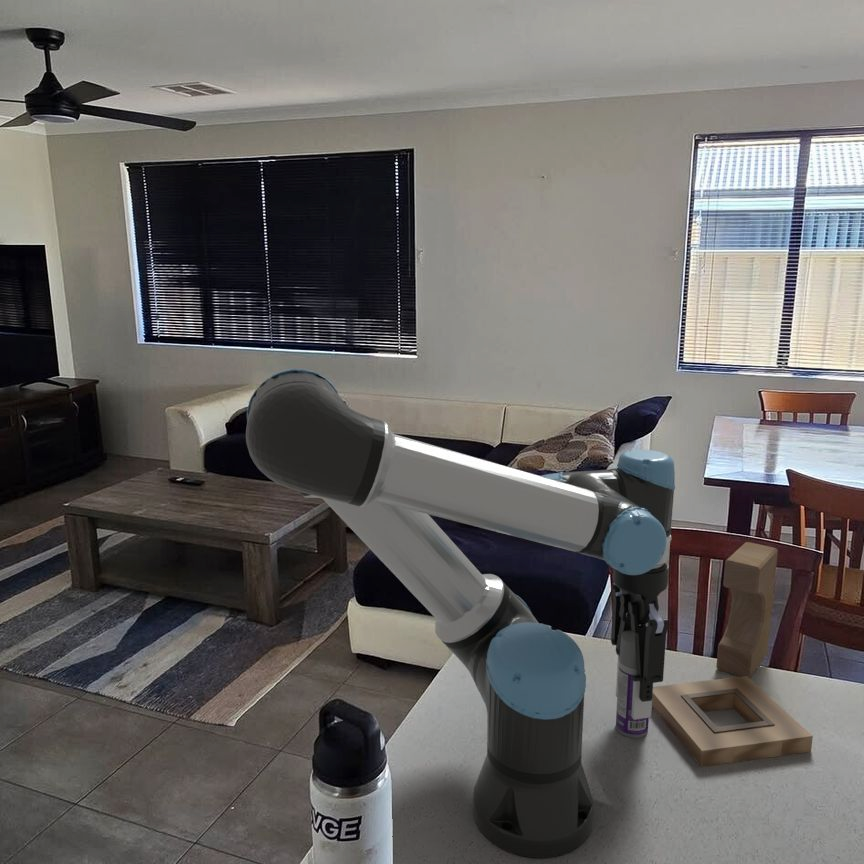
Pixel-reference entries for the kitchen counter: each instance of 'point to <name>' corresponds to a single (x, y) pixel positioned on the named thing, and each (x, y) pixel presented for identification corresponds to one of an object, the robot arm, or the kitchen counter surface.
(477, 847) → the kitchen counter surface
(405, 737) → the kitchen counter surface
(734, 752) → the board
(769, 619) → the decorative block
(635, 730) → the container
